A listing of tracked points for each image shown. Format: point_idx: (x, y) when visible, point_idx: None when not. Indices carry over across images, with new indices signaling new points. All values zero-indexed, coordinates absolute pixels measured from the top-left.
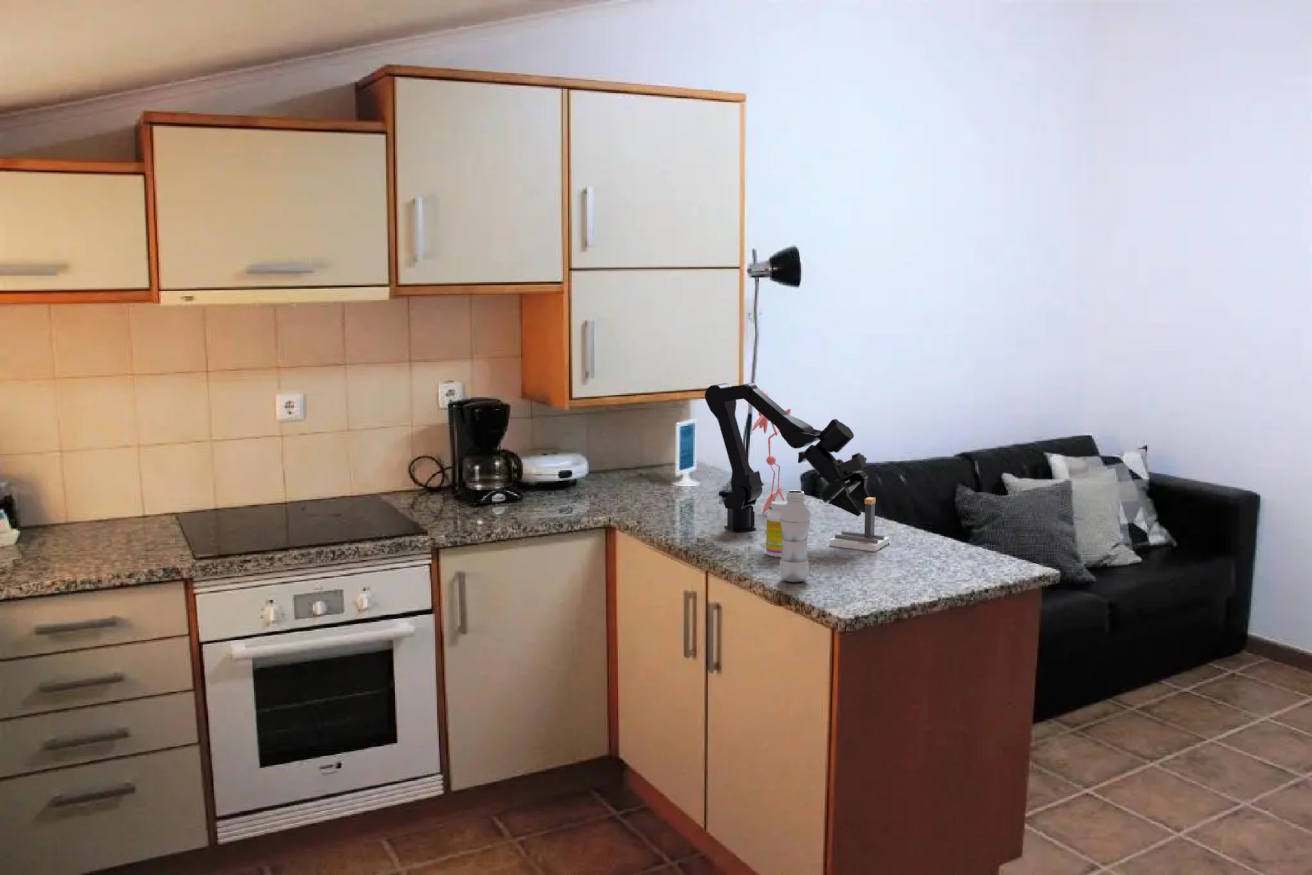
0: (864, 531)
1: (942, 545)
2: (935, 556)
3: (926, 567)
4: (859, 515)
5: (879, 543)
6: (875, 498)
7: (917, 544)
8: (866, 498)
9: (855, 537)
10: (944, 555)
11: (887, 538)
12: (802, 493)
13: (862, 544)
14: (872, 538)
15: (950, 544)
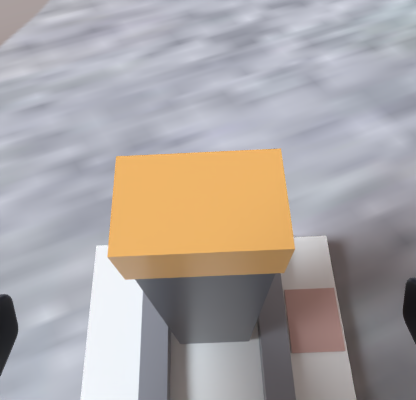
0: (251, 333)
1: (46, 73)
2: (236, 41)
3: (408, 16)
4: (407, 301)
5: None
6: (127, 160)
7: (69, 147)
8: (238, 241)
9: (294, 391)
10: (203, 26)
11: None
12: None
13: (339, 314)
14: None
15: (17, 58)
